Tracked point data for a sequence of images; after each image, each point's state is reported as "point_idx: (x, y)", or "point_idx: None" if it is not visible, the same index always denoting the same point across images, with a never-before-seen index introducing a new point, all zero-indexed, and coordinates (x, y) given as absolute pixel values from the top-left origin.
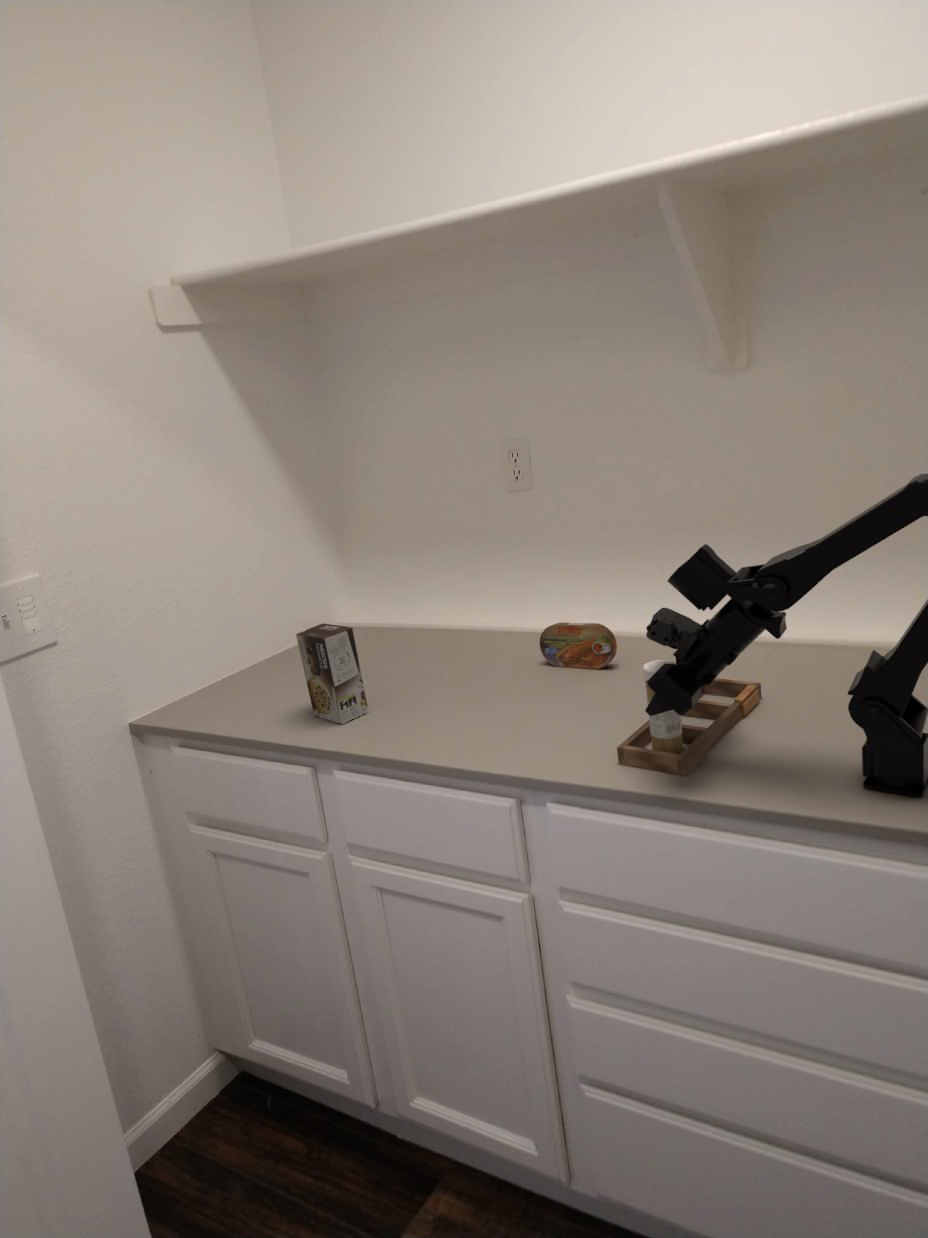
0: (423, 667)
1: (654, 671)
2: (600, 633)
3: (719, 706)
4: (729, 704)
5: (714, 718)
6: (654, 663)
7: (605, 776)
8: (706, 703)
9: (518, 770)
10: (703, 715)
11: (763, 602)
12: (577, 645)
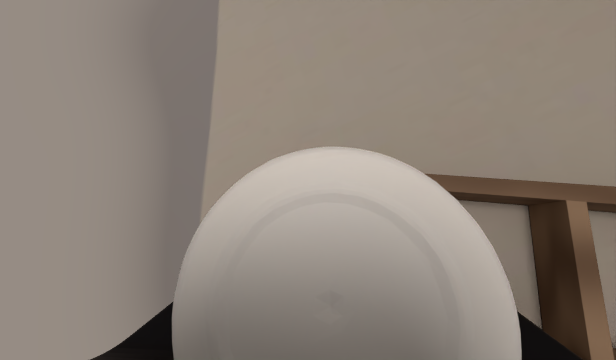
0: None
1: (176, 305)
2: None
3: (581, 324)
4: (607, 357)
5: (541, 294)
6: (362, 236)
7: (227, 170)
8: (579, 283)
9: (221, 44)
10: (541, 265)
11: None
12: None
